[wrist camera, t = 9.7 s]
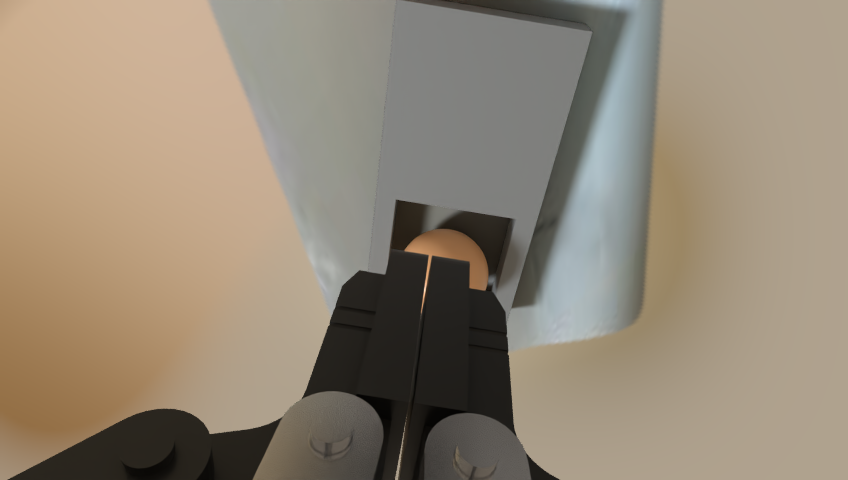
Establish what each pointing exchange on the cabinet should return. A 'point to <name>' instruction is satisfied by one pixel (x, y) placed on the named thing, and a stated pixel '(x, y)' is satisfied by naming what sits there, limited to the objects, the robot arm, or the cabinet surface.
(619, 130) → the cabinet surface
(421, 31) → the board
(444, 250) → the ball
